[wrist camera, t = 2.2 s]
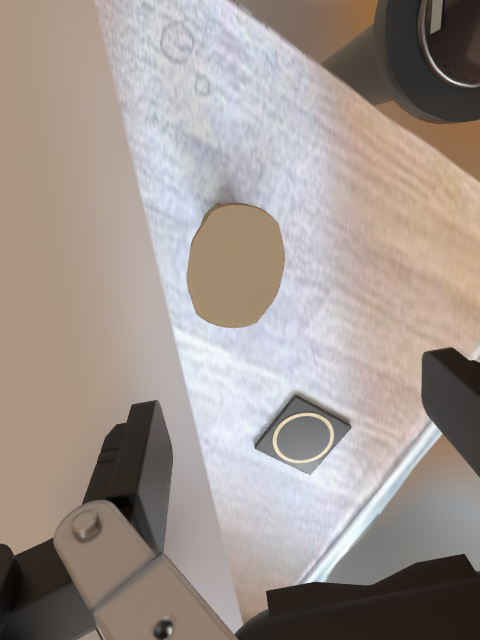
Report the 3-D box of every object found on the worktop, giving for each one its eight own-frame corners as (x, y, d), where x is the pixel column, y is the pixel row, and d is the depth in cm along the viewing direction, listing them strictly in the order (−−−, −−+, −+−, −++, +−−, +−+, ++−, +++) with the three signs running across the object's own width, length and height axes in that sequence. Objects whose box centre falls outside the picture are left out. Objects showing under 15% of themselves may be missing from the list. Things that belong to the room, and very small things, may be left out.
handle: (189, 254, 35) (180, 320, 21) (200, 177, 33) (197, 196, 19) (244, 263, 36) (268, 333, 22) (258, 188, 34) (296, 214, 20)
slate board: (294, 394, 42) (296, 397, 41) (350, 424, 44) (352, 428, 43) (254, 445, 44) (254, 449, 43) (309, 472, 46) (310, 476, 45)
